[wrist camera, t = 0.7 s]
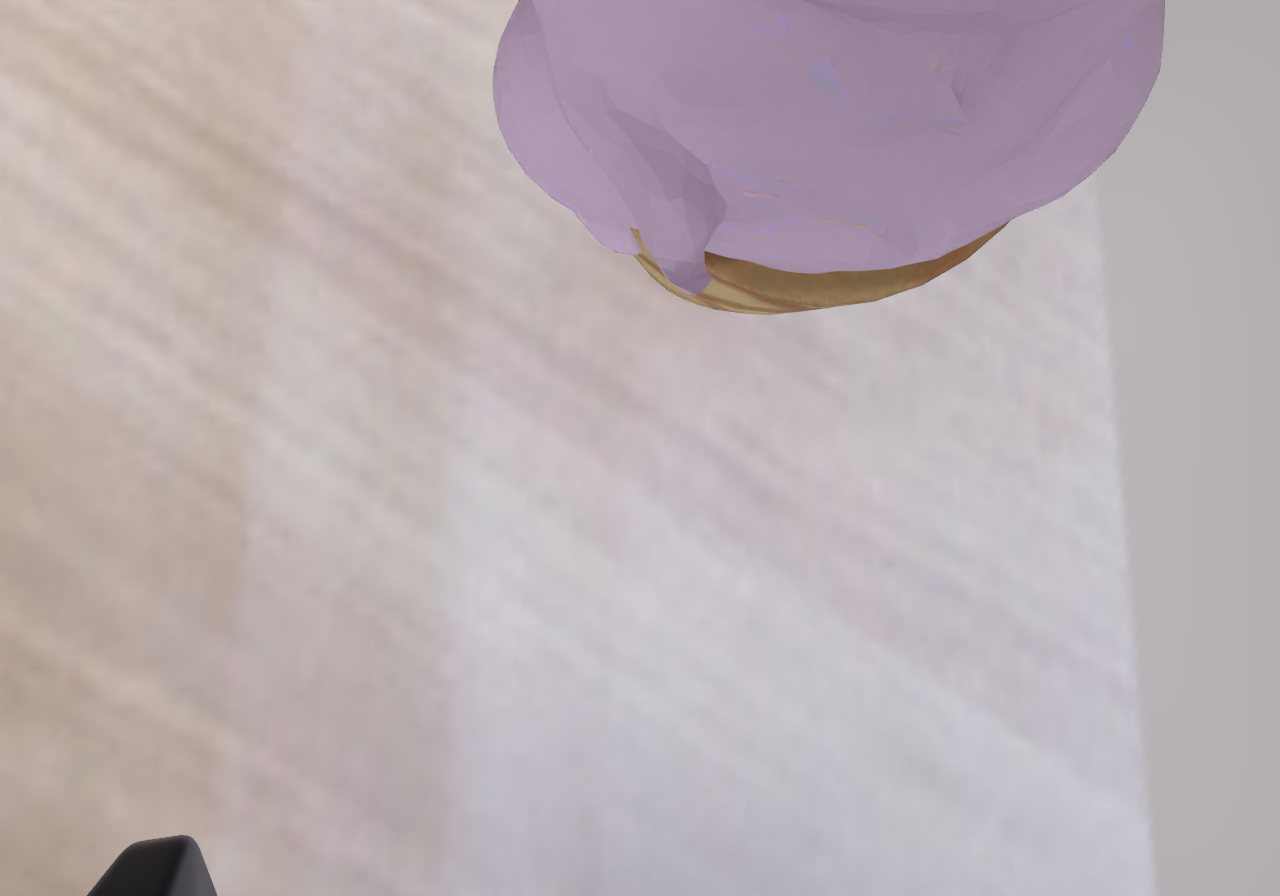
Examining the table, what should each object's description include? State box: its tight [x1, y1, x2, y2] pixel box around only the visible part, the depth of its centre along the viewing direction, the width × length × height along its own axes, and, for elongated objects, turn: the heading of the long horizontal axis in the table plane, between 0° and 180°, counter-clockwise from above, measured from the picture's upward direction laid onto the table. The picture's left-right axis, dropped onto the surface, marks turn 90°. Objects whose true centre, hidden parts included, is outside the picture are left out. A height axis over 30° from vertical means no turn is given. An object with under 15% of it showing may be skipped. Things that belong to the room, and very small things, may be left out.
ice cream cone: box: [493, 0, 1165, 315], centre depth 15 cm, size 7×6×15 cm
